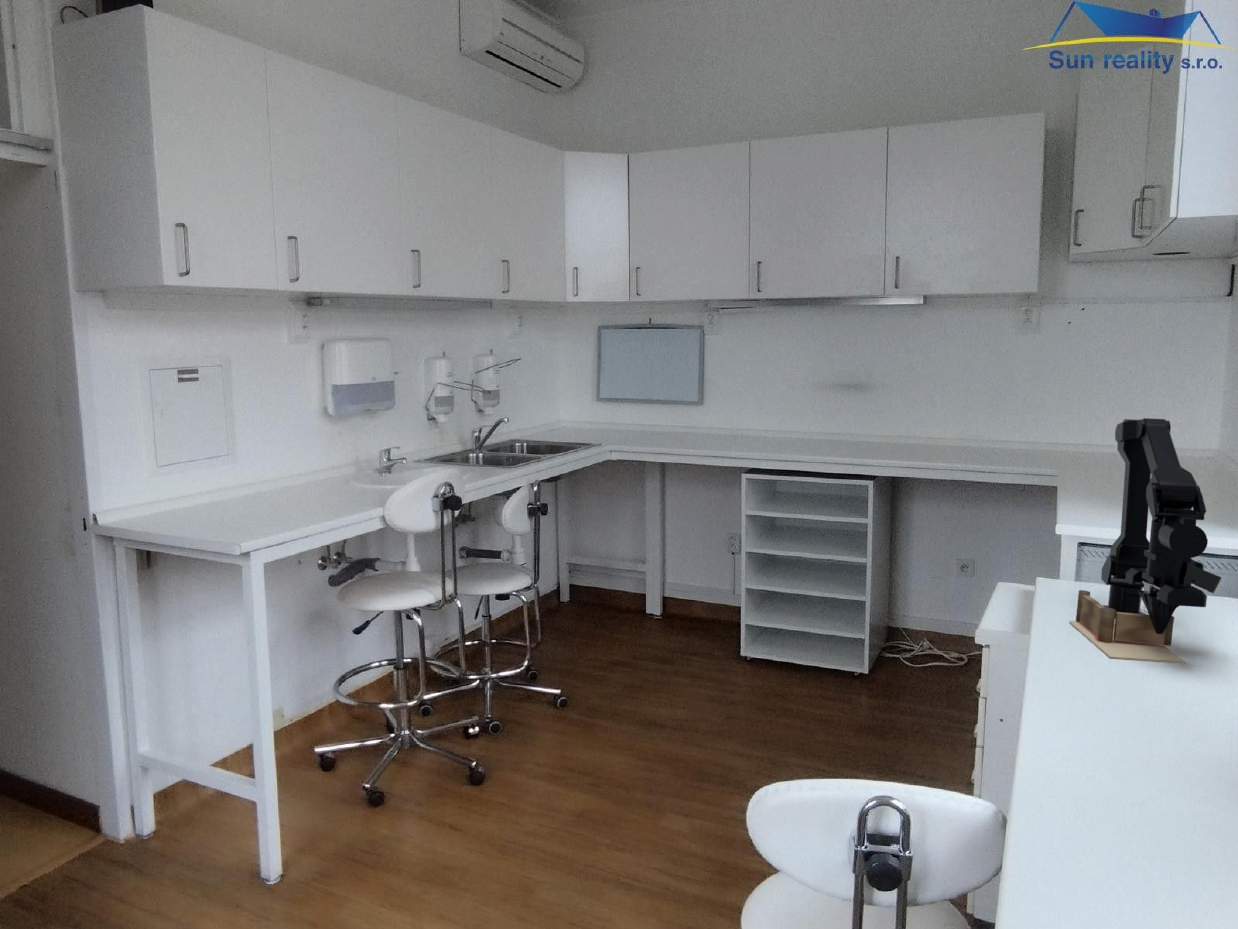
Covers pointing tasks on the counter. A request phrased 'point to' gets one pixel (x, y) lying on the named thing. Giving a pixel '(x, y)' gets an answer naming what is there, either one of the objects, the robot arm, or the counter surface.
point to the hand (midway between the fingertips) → (1159, 633)
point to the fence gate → (1140, 629)
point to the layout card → (1130, 648)
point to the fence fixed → (1095, 617)
